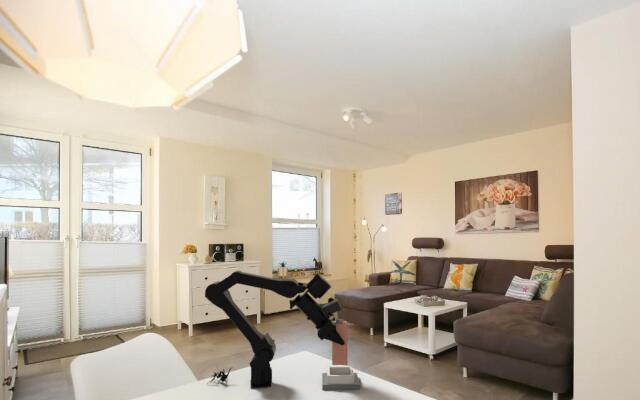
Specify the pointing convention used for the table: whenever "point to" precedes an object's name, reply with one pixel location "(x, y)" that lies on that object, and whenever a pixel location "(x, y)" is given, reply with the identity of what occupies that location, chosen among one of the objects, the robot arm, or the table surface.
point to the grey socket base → (340, 378)
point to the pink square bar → (340, 350)
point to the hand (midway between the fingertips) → (343, 341)
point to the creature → (223, 376)
